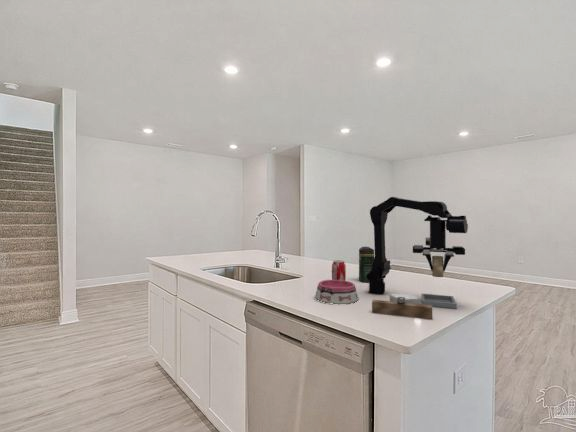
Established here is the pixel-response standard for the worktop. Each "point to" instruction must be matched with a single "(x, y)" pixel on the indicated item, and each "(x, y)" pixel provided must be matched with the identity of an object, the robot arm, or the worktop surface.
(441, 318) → the worktop surface
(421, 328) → the worktop surface
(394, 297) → the small box
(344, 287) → the dog bowl
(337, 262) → the soda can
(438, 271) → the dowel
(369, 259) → the coffee jar
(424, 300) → the tray
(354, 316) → the worktop surface
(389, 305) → the stop rail
